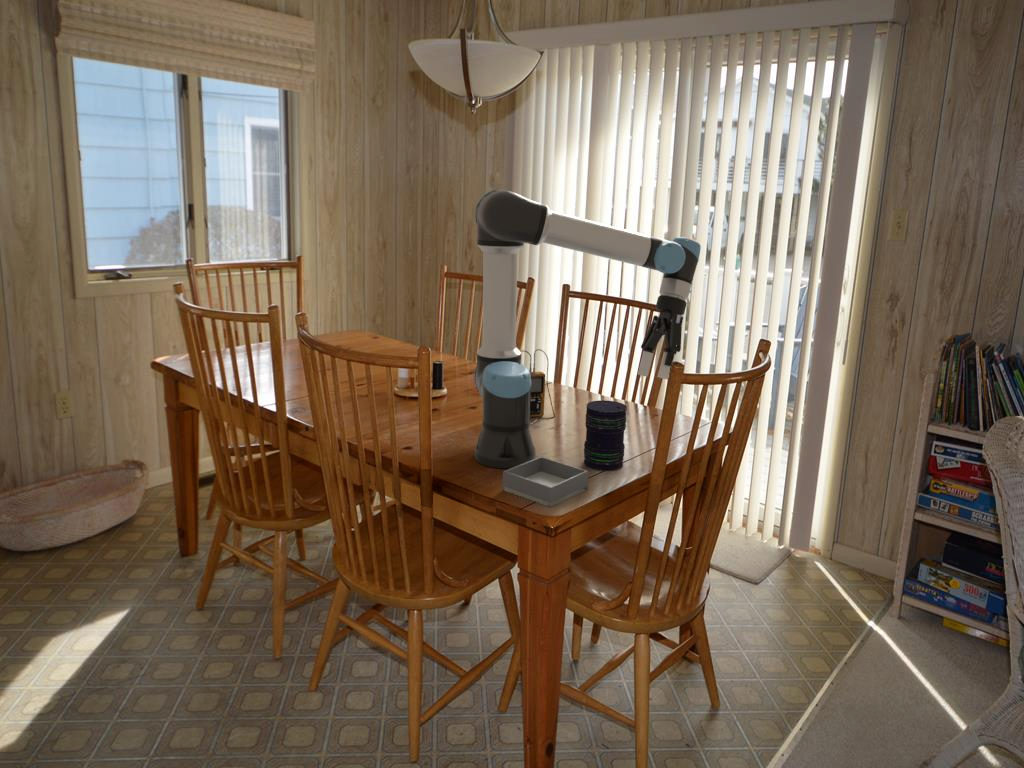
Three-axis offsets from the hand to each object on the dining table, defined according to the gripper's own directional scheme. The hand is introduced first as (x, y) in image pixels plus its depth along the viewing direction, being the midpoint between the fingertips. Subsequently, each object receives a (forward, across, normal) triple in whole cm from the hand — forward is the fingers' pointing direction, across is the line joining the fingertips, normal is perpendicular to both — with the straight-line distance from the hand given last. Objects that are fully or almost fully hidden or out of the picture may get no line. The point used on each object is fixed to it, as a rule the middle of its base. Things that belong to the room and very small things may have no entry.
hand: (652, 377), depth 203 cm
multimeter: (+20, +28, +20) cm, 40 cm away
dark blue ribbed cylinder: (+24, -8, +10) cm, 28 cm away
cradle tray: (+32, -22, +27) cm, 47 cm away
